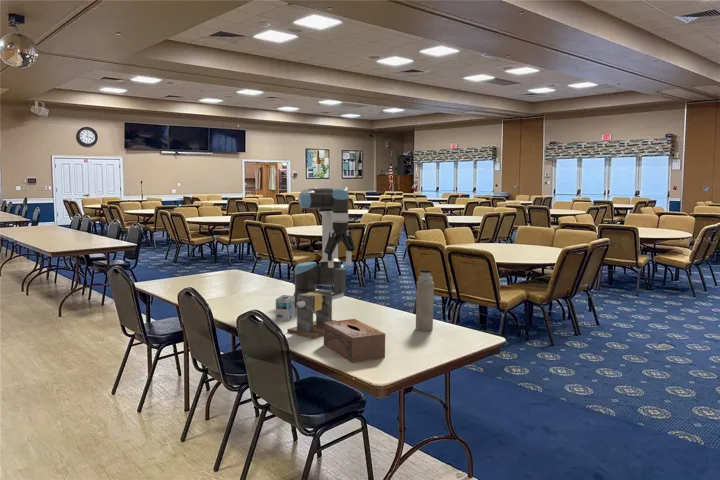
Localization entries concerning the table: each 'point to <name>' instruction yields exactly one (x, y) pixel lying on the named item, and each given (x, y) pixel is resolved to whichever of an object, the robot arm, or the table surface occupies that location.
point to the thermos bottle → (424, 301)
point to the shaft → (338, 287)
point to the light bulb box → (285, 307)
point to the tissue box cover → (354, 340)
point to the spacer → (316, 301)
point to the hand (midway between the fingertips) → (339, 266)
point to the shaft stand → (306, 316)
